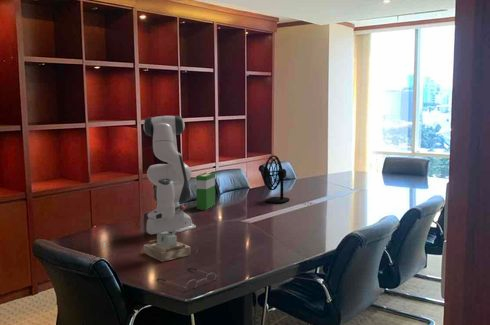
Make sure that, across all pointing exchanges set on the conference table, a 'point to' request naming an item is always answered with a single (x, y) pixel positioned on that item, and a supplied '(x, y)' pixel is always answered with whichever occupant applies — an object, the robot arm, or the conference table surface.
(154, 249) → the display stand
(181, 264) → the conference table surface
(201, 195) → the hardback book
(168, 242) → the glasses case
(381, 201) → the conference table surface
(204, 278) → the eyeglasses
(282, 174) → the desk fan
